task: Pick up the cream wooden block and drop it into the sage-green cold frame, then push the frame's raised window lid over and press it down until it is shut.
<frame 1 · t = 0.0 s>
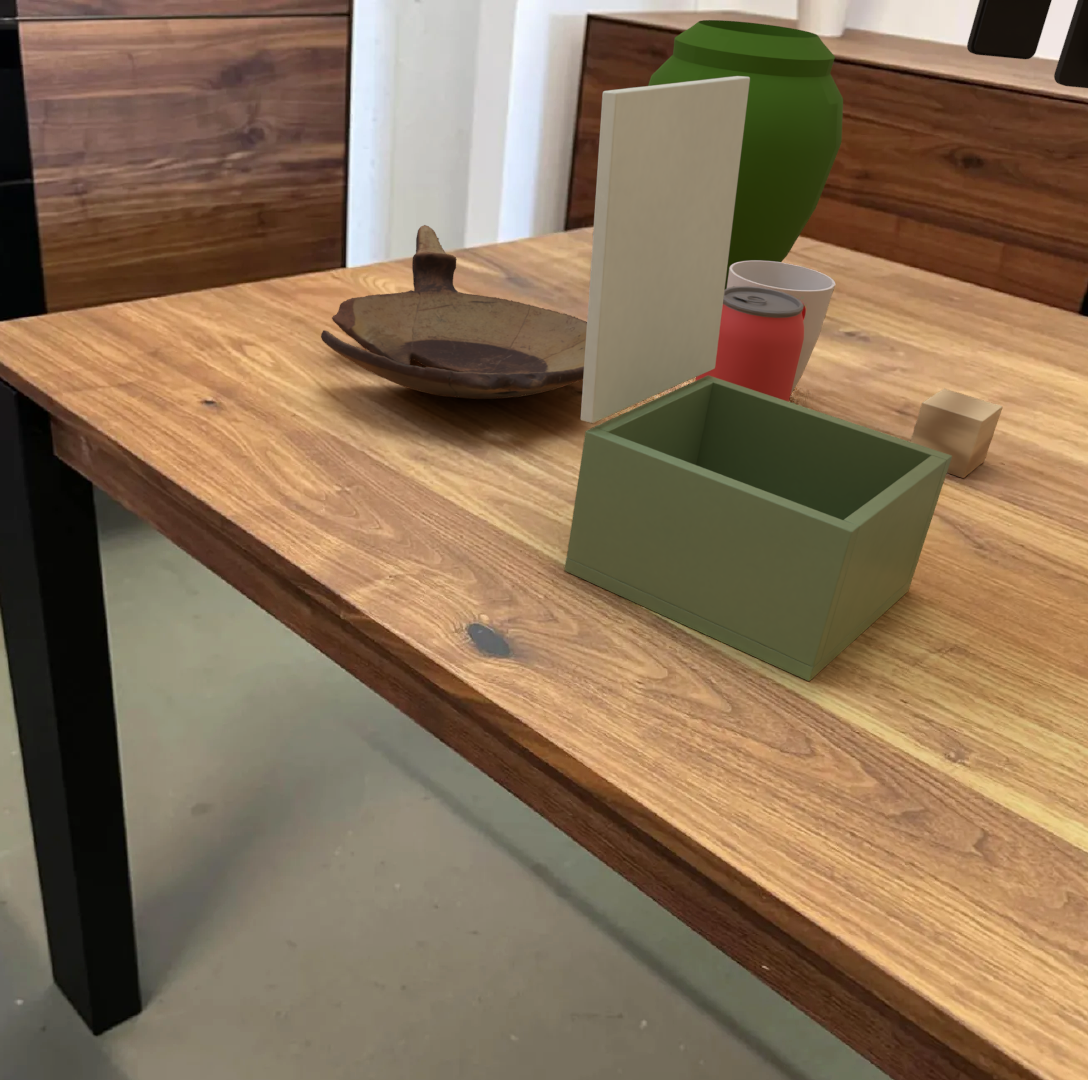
hand: (1041, 70, 54), 29 cm above the table, tool pointing down, fingers open, 9 cm apart
cup: (754, 399, 99), on the table
cold frame: (738, 581, 72), on the table
vase: (706, 292, 125), on the table
window: (665, 247, 67), point 18 cm above the table, hinge at 95.0°
beer can: (725, 465, 87), on the table
block: (944, 460, 91), on the table
oil lamp: (469, 376, 98), on the table
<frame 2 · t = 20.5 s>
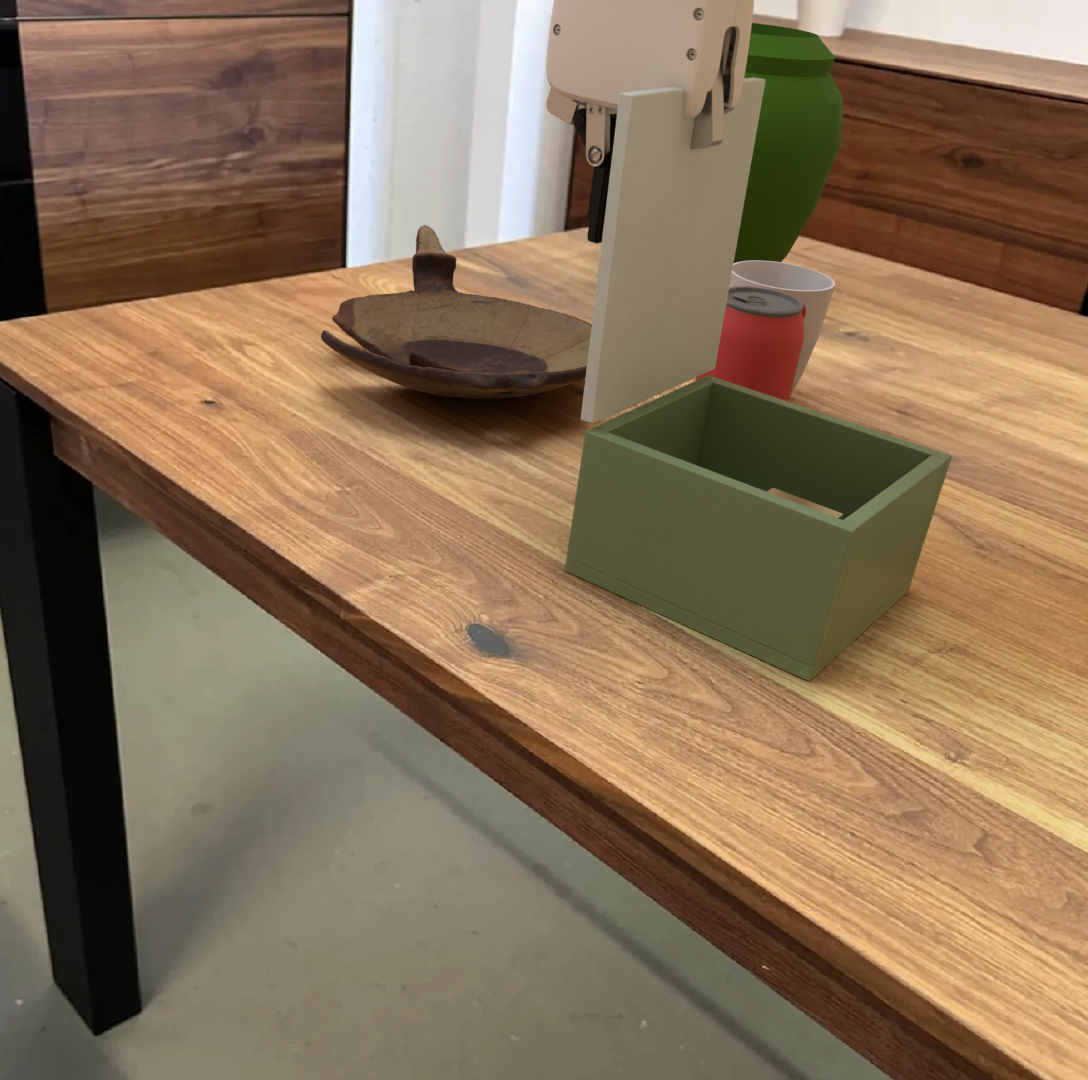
hand: (613, 240, 69), 17 cm above the table, tool pointing down, fingers closed
window: (673, 249, 67), point 18 cm above the table, hinge at 91.6°, touching gripper
block: (772, 580, 71), point 1 cm above the table, touching cold frame
everything else where it was.
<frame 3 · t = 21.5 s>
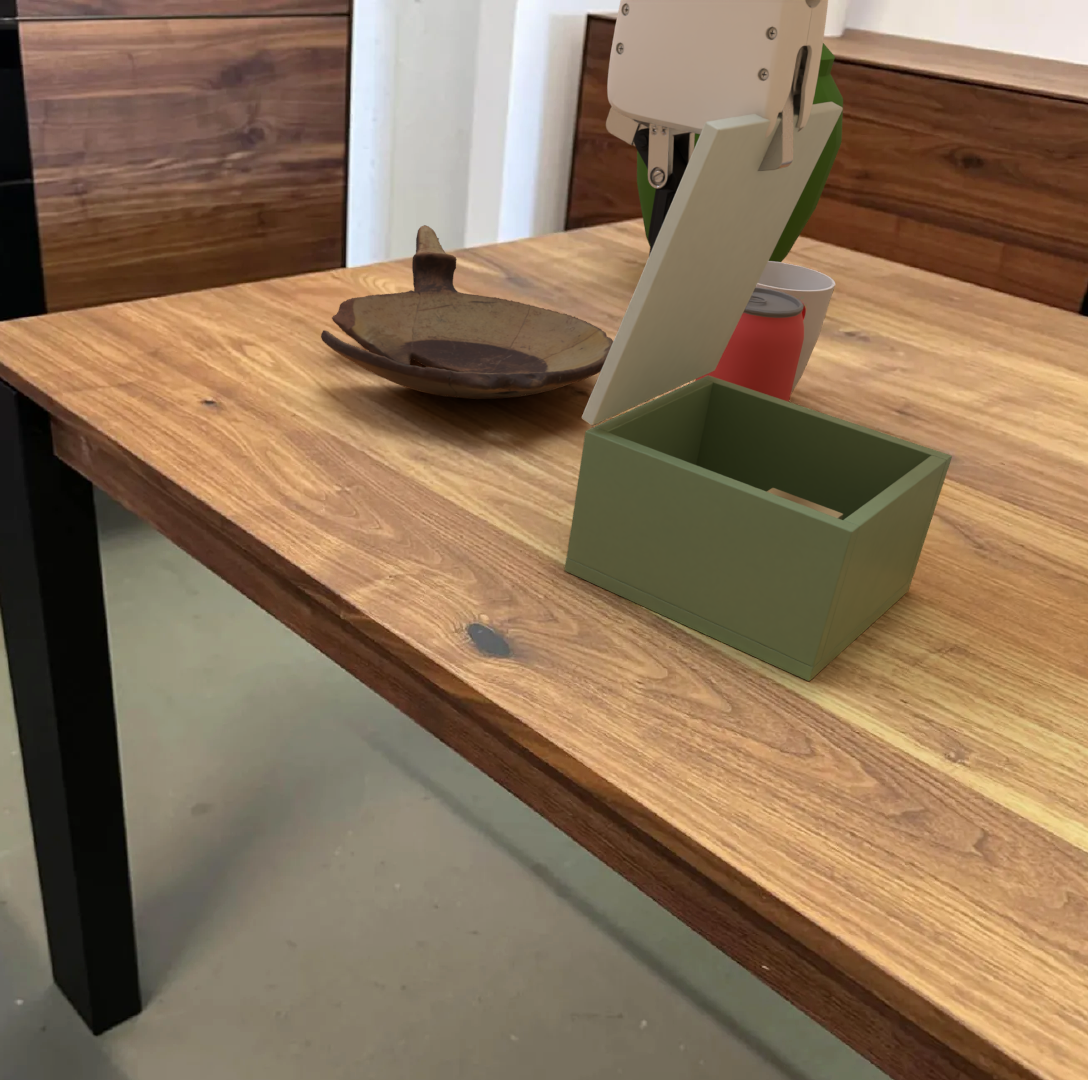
hand: (674, 263, 67), 17 cm above the table, tool pointing down, fingers closed
window: (710, 264, 66), point 17 cm above the table, hinge at 74.9°, touching gripper
everything else where it was.
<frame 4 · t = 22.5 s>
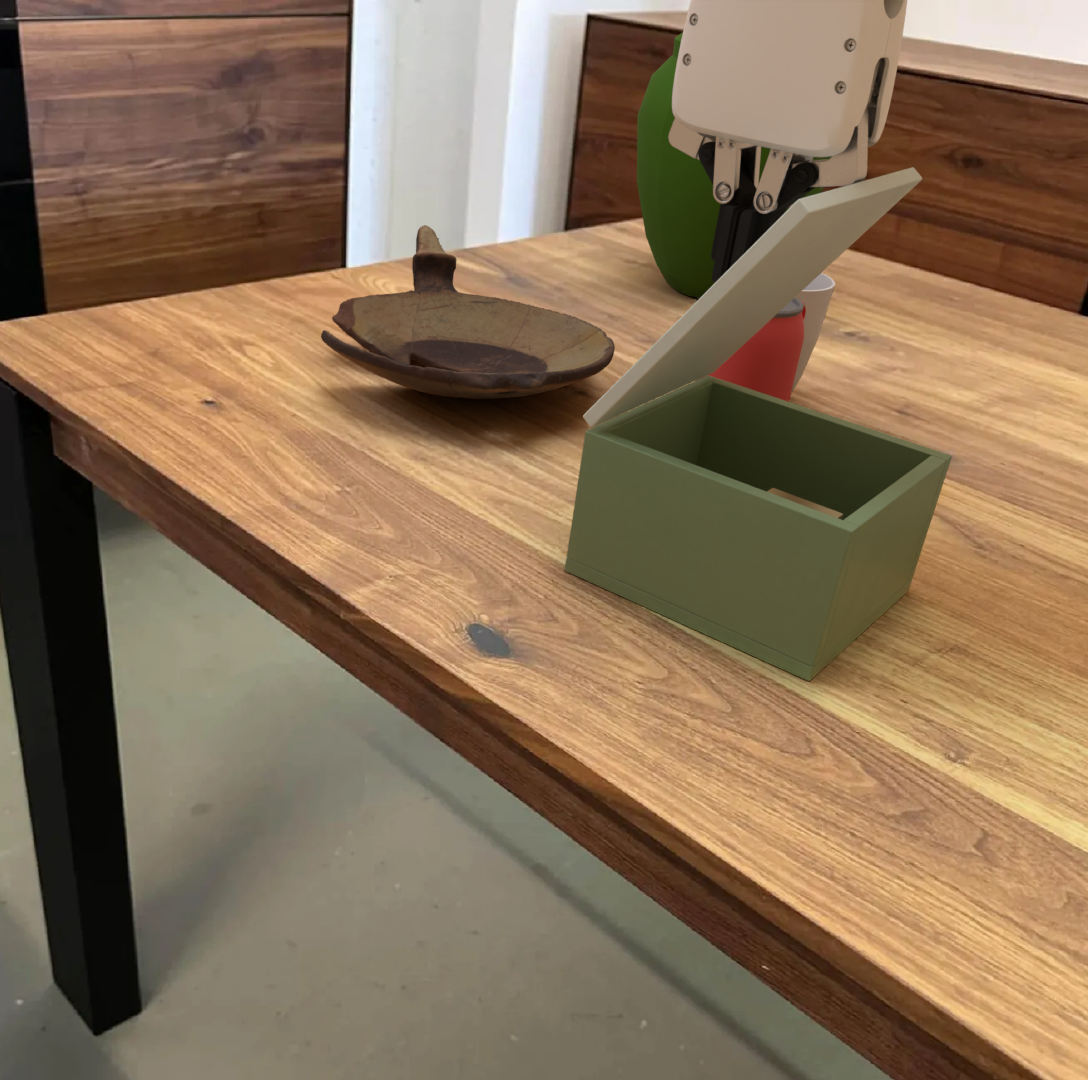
hand: (738, 280, 65), 17 cm above the table, tool pointing down, fingers closed
window: (749, 299, 65), point 16 cm above the table, hinge at 54.7°, touching gripper
everything else where it was.
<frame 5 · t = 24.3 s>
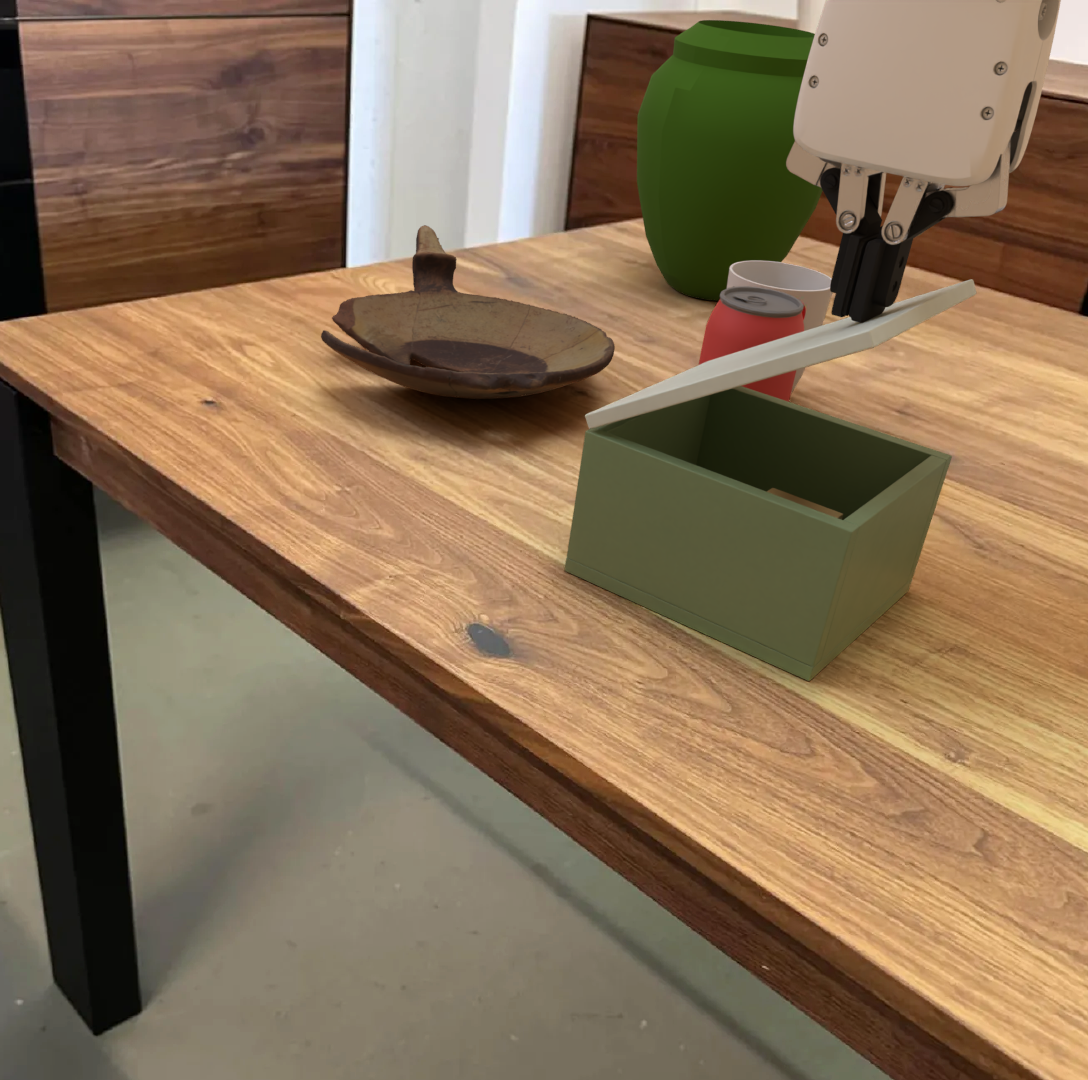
hand: (857, 313, 62), 17 cm above the table, tool pointing down, fingers closed
window: (777, 355, 66), point 14 cm above the table, hinge at 31.6°, touching gripper
everything else where it was.
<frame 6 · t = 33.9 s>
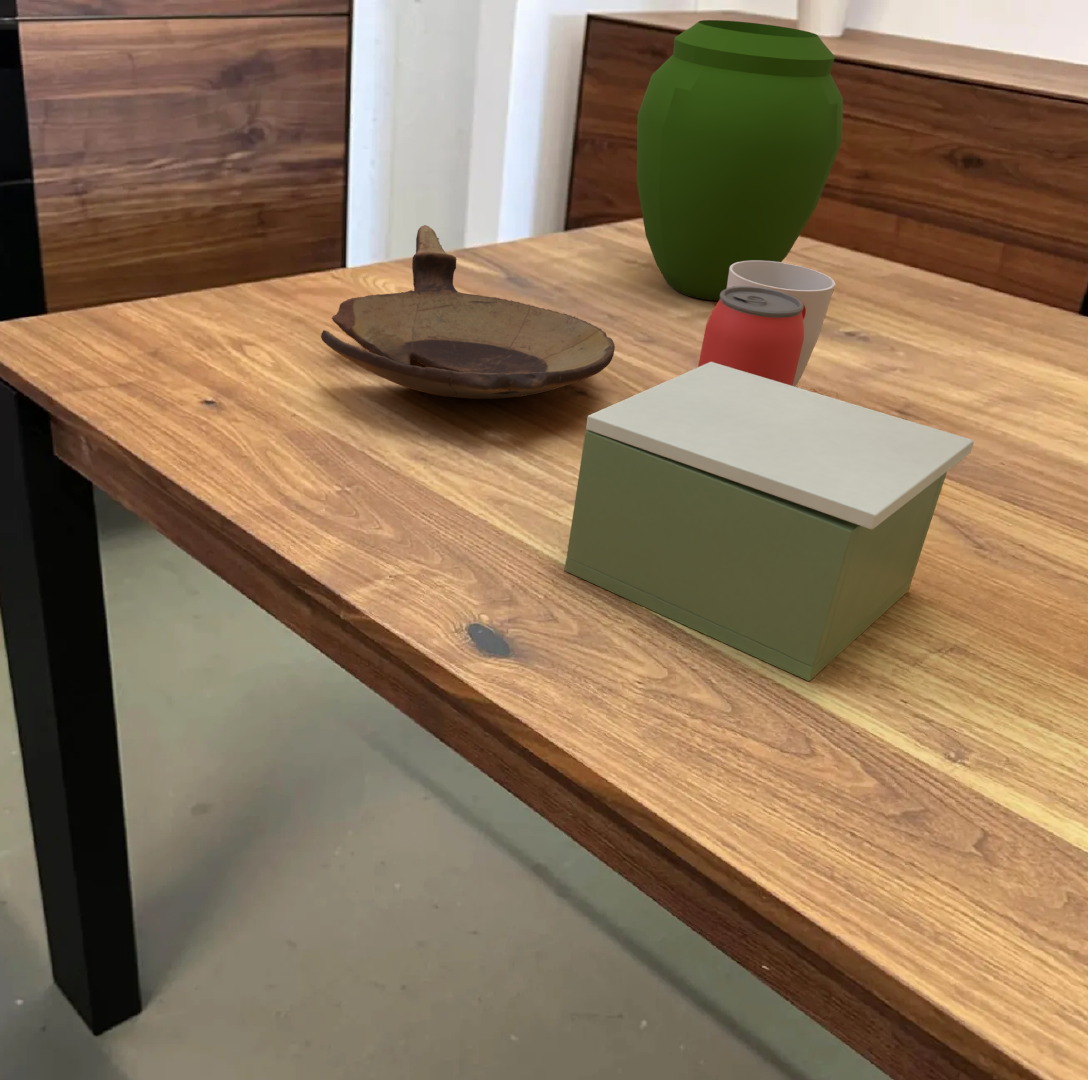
window: (780, 434, 67), point 10 cm above the table, hinge at 1.2°
everything else where it was.
at the end: block inside the target area in the cold frame (2.1 cm from its centre), point 0.9 cm above the cold frame's base; window at +1° (first picture: +95°) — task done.
